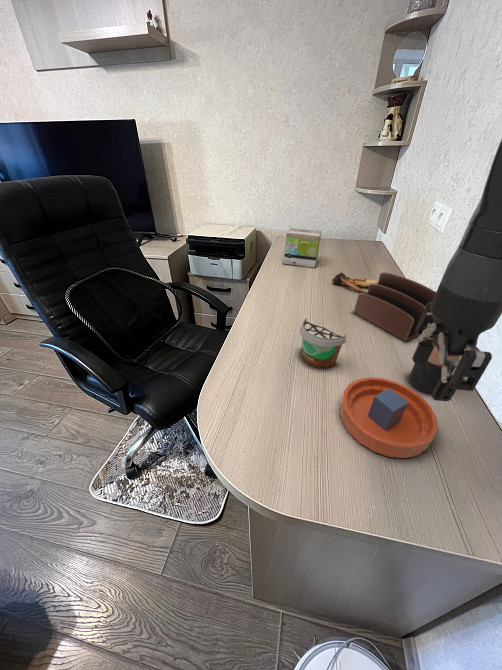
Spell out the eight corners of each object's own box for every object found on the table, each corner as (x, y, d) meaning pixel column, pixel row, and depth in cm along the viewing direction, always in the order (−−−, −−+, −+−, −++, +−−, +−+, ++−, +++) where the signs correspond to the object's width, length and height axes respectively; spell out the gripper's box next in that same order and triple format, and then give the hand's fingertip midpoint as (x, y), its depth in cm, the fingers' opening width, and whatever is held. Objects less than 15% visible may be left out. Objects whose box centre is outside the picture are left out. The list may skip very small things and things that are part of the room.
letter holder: (372, 305, 99) (383, 268, 91) (425, 332, 85) (443, 291, 77) (353, 313, 95) (362, 274, 87) (405, 342, 81) (422, 299, 73)
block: (399, 421, 58) (409, 402, 54) (385, 431, 56) (394, 411, 52) (381, 407, 61) (389, 387, 57) (367, 415, 59) (374, 396, 55)
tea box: (283, 264, 133) (285, 232, 124) (287, 257, 140) (289, 227, 132) (315, 268, 129) (319, 235, 121) (317, 261, 137) (321, 230, 128)
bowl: (448, 433, 56) (456, 420, 54) (391, 476, 49) (398, 464, 46) (376, 380, 68) (380, 367, 66) (322, 408, 61) (325, 395, 59)
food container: (287, 357, 76) (290, 326, 70) (300, 347, 79) (304, 317, 74) (327, 378, 69) (334, 346, 63) (339, 366, 72) (347, 335, 67)
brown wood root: (330, 290, 111) (379, 295, 106) (332, 279, 108) (382, 284, 103) (332, 280, 118) (377, 284, 113) (333, 270, 115) (380, 274, 111)
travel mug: (412, 393, 65) (447, 320, 53) (403, 371, 71) (433, 302, 60) (448, 397, 64) (491, 324, 52) (435, 374, 70) (471, 305, 59)
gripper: (550, 317, 29) (476, 417, 38) (478, 266, 40) (435, 353, 50) (472, 311, 30) (418, 411, 39) (423, 263, 41) (391, 349, 51)
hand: (427, 378), depth 44 cm, fingers open, 8 cm apart
